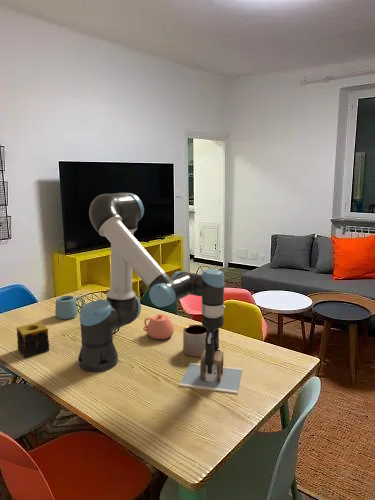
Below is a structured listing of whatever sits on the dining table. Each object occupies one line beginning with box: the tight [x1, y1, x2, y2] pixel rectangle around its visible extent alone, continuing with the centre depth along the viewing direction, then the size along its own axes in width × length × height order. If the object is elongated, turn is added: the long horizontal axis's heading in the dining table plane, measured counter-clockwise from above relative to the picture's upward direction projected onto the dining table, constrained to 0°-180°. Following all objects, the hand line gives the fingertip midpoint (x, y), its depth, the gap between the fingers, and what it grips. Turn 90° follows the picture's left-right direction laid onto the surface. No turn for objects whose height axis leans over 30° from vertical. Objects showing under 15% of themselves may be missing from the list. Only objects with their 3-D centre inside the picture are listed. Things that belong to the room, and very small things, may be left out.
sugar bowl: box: [142, 313, 175, 340], centre depth 170 cm, size 12×14×10 cm
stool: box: [200, 350, 225, 382], centre depth 134 cm, size 7×7×8 cm
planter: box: [182, 324, 208, 358], centre depth 154 cm, size 11×11×10 cm
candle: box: [16, 321, 50, 359], centre depth 156 cm, size 10×10×10 cm
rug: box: [178, 362, 243, 395], centre depth 135 cm, size 20×16×1 cm
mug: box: [54, 295, 85, 320], centre depth 194 cm, size 15×11×10 cm
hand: (212, 375), depth 135 cm, fingers closed on stool, 7 cm apart
